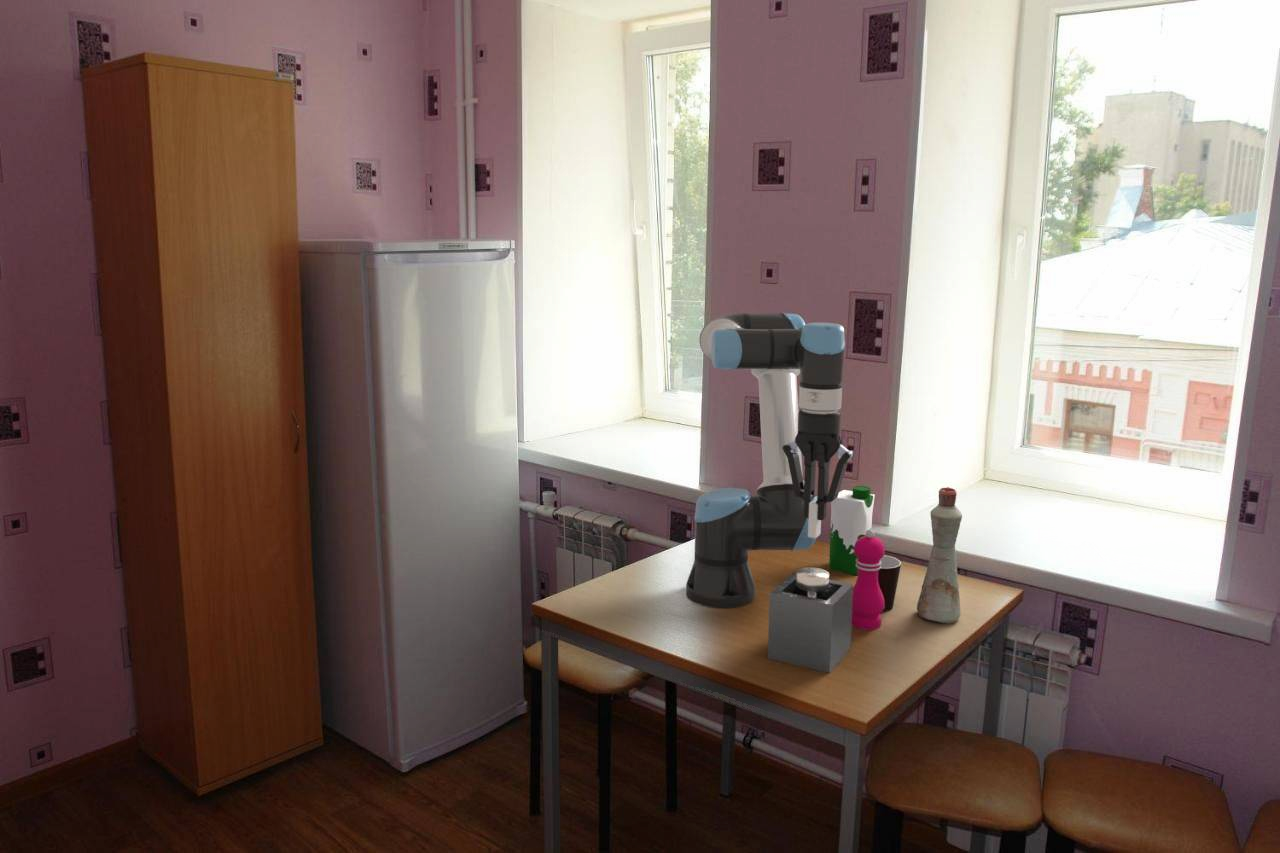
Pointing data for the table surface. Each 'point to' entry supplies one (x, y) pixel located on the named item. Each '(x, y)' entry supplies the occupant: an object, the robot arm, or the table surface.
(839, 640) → the tower
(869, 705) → the table surface
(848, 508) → the milk carton
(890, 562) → the coffee mug
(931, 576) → the bottle
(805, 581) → the plunger
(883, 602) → the pepper mill
